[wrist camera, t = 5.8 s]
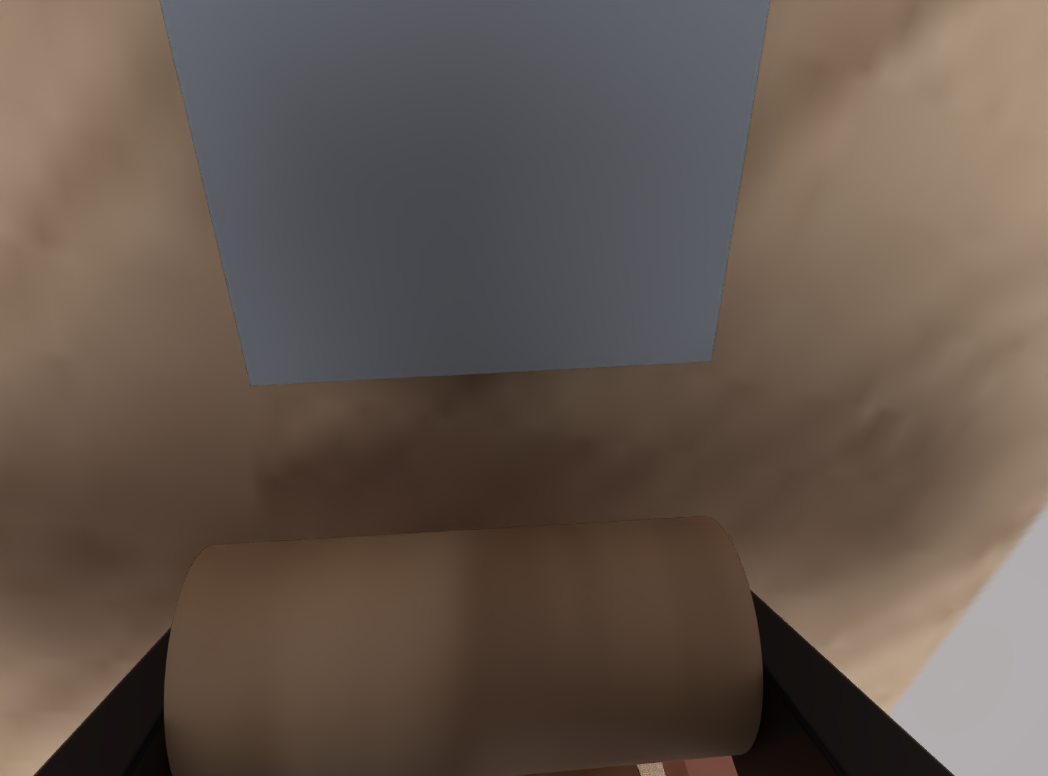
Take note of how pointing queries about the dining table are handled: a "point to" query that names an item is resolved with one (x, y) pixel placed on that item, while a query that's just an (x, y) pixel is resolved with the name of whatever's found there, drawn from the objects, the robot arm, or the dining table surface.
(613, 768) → the roller
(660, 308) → the slab
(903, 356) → the dining table surface
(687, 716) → the roller
